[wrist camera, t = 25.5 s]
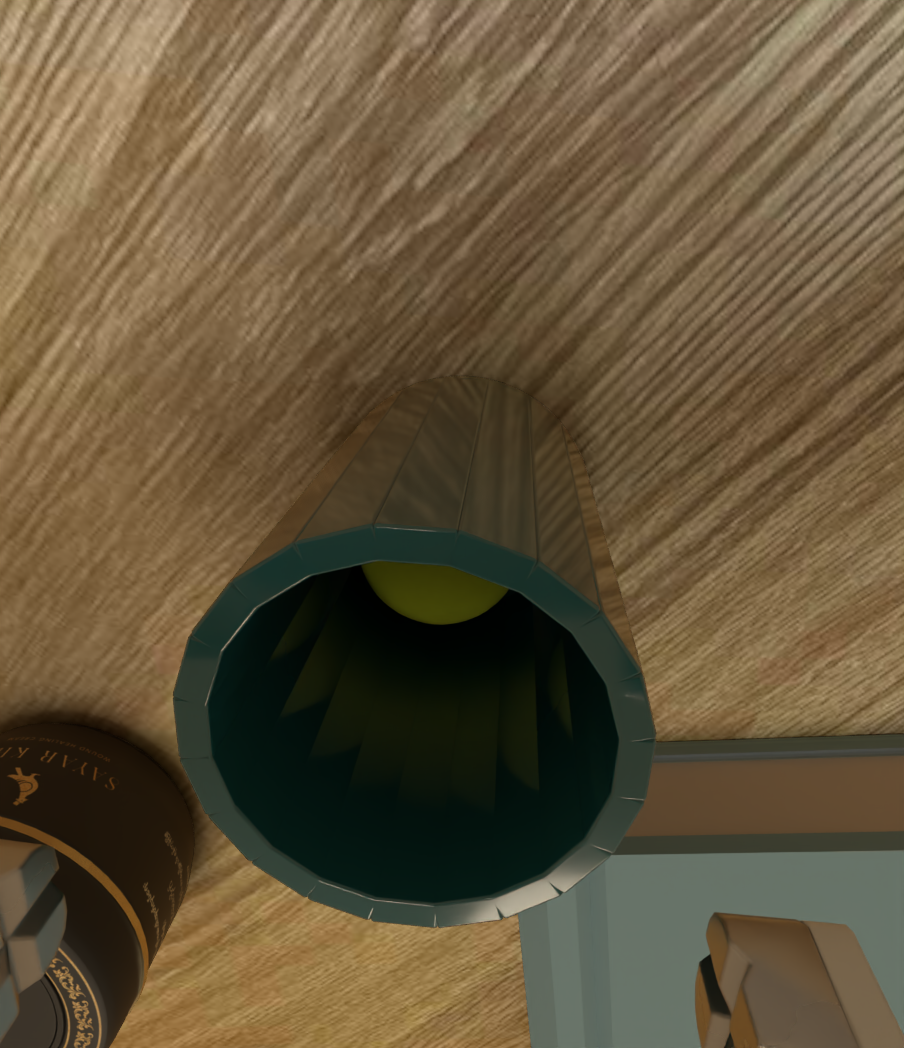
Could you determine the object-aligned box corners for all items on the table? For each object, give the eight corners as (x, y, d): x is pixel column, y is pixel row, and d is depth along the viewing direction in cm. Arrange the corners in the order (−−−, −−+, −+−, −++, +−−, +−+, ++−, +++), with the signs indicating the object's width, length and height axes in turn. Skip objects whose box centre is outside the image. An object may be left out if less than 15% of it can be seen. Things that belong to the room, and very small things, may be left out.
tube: (336, 367, 22) (149, 507, 11) (603, 383, 22) (692, 546, 10) (339, 603, 25) (194, 904, 14) (574, 622, 24) (621, 949, 13)
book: (921, 1164, 33) (988, 1319, 28) (549, 1153, 34) (553, 1296, 30) (1002, 730, 25) (1113, 847, 20) (511, 747, 26) (509, 856, 22)
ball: (396, 429, 23) (326, 475, 18) (546, 449, 21) (507, 503, 17) (394, 567, 24) (329, 636, 20) (533, 593, 23) (494, 672, 19)
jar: (214, 730, 27) (107, 905, 20) (209, 928, 31) (117, 1134, 24) (-52, 685, 28) (-251, 842, 20) (-26, 886, 31) (-186, 1078, 24)
